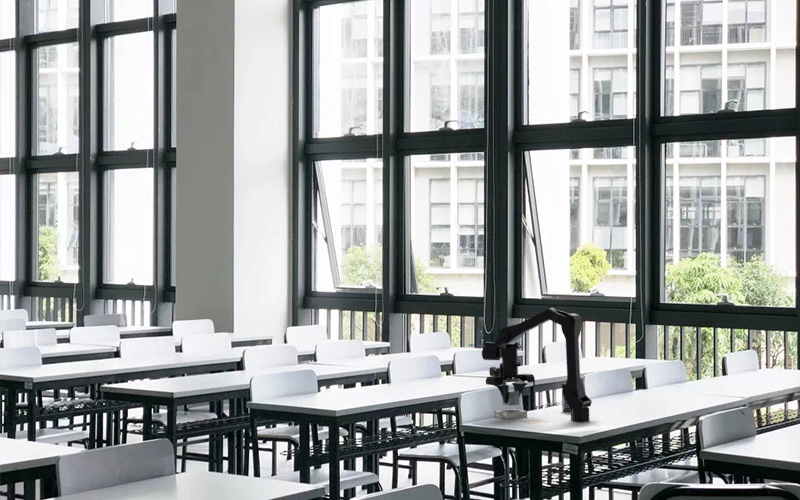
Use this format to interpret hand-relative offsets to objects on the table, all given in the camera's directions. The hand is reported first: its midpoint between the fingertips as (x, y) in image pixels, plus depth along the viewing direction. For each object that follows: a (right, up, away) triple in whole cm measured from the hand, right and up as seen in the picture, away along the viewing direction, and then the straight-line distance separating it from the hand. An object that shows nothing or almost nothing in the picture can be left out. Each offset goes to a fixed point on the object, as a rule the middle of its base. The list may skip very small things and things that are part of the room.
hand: (510, 402), depth 395 cm
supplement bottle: (+25, -7, +22) cm, 34 cm away
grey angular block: (0, -1, 0) cm, 1 cm away
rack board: (+1, -7, -2) cm, 7 cm away
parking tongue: (+7, -6, -14) cm, 16 cm away
